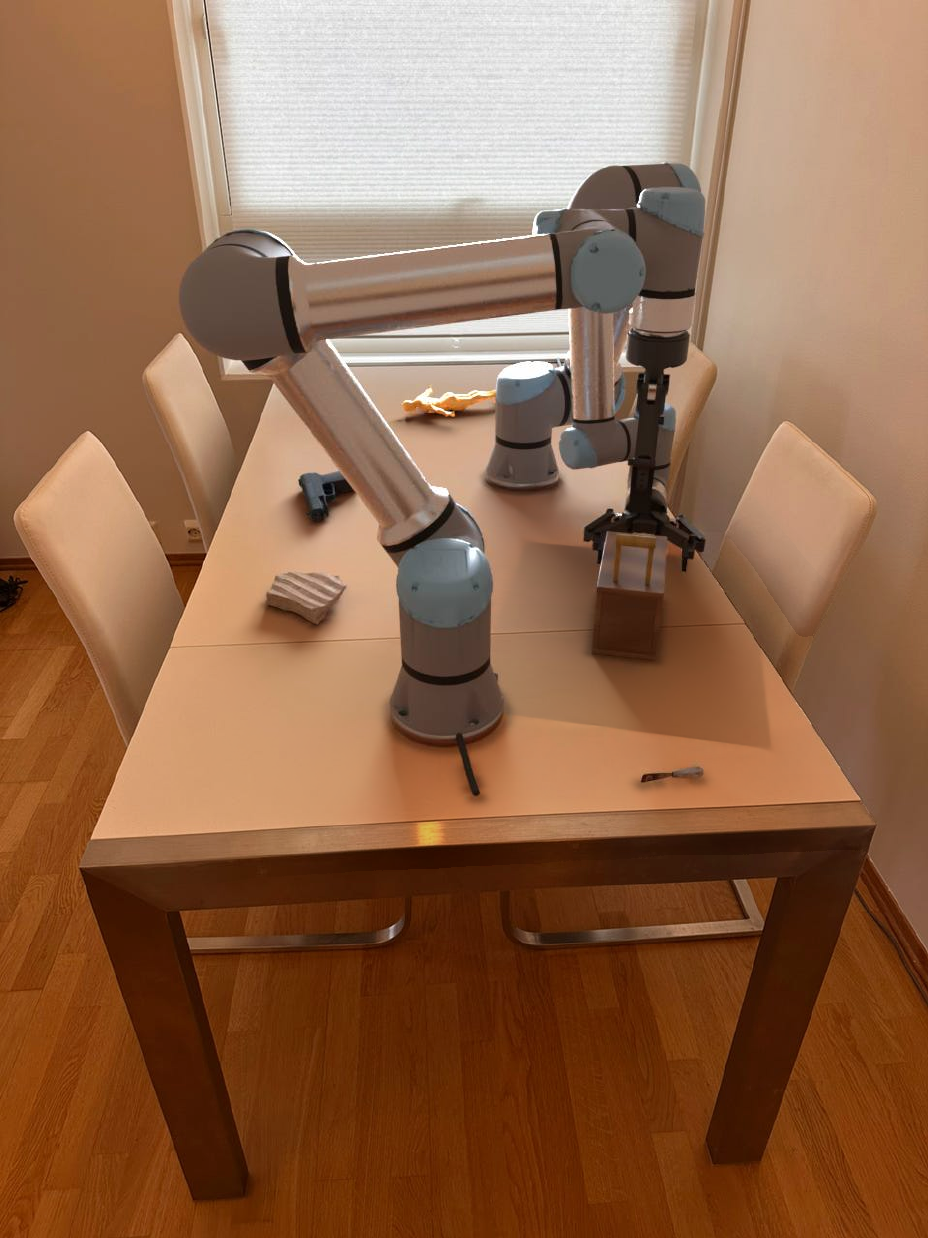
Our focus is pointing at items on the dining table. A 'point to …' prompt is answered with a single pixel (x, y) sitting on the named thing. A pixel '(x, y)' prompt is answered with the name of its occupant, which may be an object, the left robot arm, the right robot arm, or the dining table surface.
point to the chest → (626, 626)
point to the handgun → (321, 491)
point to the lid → (633, 565)
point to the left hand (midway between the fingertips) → (641, 490)
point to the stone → (305, 593)
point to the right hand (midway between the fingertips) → (641, 560)
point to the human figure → (446, 402)
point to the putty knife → (674, 774)
